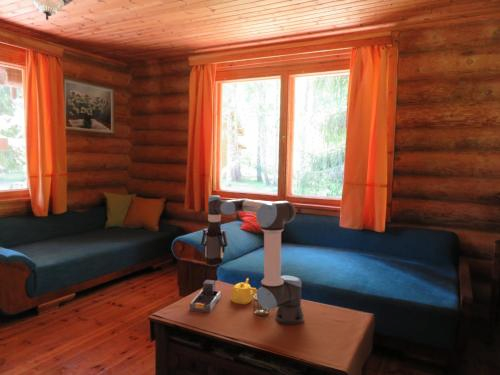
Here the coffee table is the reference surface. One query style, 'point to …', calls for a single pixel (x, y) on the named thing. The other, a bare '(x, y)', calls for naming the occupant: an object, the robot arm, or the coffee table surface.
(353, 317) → the coffee table surface
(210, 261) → the electronic device
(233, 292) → the teapot
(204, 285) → the rack
